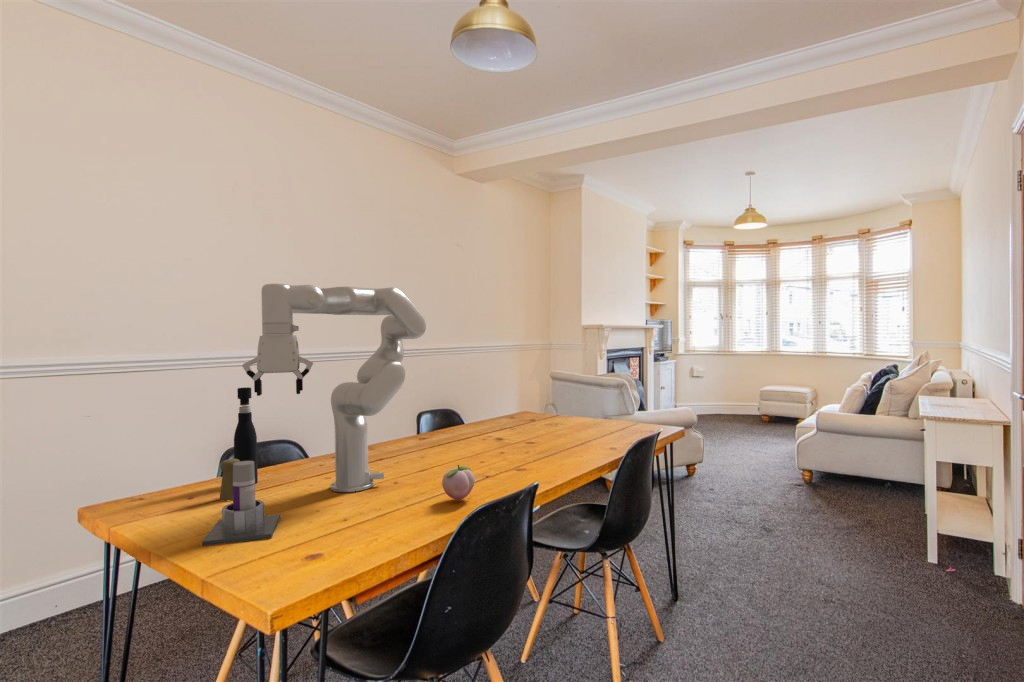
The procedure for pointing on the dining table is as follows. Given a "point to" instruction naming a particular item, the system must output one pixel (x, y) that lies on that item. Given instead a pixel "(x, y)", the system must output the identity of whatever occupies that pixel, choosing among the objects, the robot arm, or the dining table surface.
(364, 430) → the robot arm
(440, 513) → the dining table surface
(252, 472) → the container
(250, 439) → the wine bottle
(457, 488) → the decorative fruit
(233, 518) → the duct collar
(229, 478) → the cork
